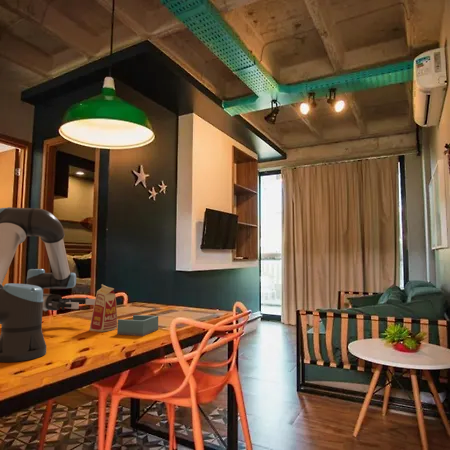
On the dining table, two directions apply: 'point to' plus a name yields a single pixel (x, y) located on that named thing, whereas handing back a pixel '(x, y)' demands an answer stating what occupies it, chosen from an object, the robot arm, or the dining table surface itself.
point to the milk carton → (104, 310)
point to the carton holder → (138, 325)
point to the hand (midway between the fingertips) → (88, 303)
